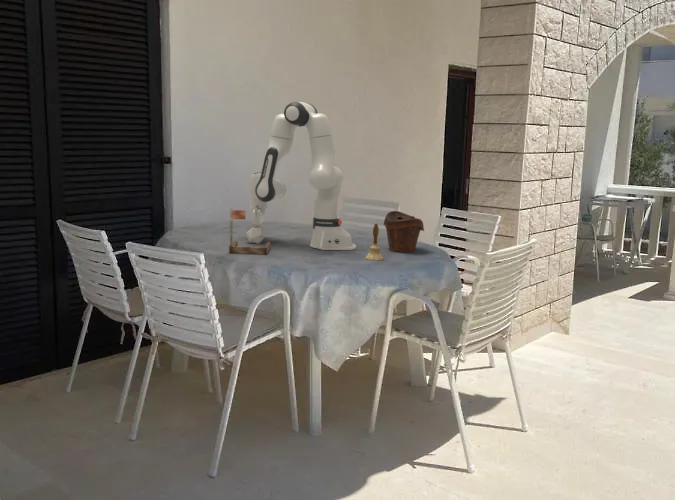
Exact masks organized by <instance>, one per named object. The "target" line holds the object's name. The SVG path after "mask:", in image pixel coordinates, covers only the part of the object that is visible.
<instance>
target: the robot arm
mask: <svg viewBox="0 0 675 500" xmlns="http://www.w3.org/2000/svg"><path fill="white" fill-rule="evenodd" d="M298 127H305V128H306V130H307V132H308V139H309V147H310V152H311V153H310V154H311V166H310V174H309V177H308V178H309V179H308V180H309V183H310V185H311V187H312V188H313V189H316V190H317V194H316V197H315V200H314V207H313V213H314V215H313V219H312V234H311V235H312V236H311V241H310V244H309V246H310V248H314V249H318V250H322V251H353V250H356V249H357V245H356V244H355V243H353V240H352V235H351V233H350V232H348V231H347V230H346V229H345V228H344V227H343V226H341V225H342V224H343V221H342V220H341V219H340V218H338V203H339V202H338V201H339V195H340V191H341V187H342V182H343V181H344V172H343V171H342V170H341V168H339V167H338V166H335V165H334V156H335V146H334V139H333V137H334V136H333V131H332V127H331V123H330V121H329V118H328V116H327V115H326V114H324V113H320V112H318V110H317V108H316V107H315V106H314V105H313V104H312V103H306V102H304V101H293V102H290V103H289V104H287V105H286V106H285V108H284V111H283V113H280V114H277V115H275V117H274V120H273V123H272V127H271V131H270V139H269V143H268V147H267V150H266V152H265V156H264V160H263V164H262V169H261V171H259V172H253V173H252V174H251V175H250V182H249V192H250V195H249V208H250V209H251V211H252V217H251V219H252V222H251V223H252V226H255V227H261V226H262V222H263V221H264V220H265V215H266V209H268V203H269V202H271V201H274V200H277V199H281V198H283V197H284V196H285V194H286V191H287V190H286V187H287V186H286V185H285V183H284V182H283V181H282V180H281V179H276V178H275V174H276V169H277V165H278V164H279V162H280V161H281V160H282V159H283V158H284V157H285V156H287V155H288V154H289V153H290V152H291V149H292V147H293V142H294V136H295V131H296V129H297V128H298ZM261 228H262V227H261Z"/></svg>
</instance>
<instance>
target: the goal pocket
mask: <svg viewBox="0 0 675 500" xmlns="http://www.w3.org/2000/svg"><path fill="white" fill-rule="evenodd" d="M229 210H230V212H229V215H230V217H229V221H230V222H229V224H230V225H229V228H230V230H229V231H230V232H229V235H230V236H229V247H228V248H229V249H228V250H229V251H228V253H229V254H240V255H241V254H242V255H244V254H245V255H265V256H266V255H268V253H269V252H270V249H271V241H266V243H265V245H264V246H241V245H240V246H239V244H238V240H233V220H246V210H244V209H242V210H241V209H239V210H235V209H233V208H230V209H229Z"/></svg>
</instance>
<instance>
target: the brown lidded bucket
mask: <svg viewBox="0 0 675 500" xmlns="http://www.w3.org/2000/svg"><path fill="white" fill-rule="evenodd" d="M383 226H384V227H385V229H386V237H387V243H388V249H389V250H390V251H393V252H397V253H398V252H400V253H412V252H415V251H416V248H417V243H418V240H419V237H420V233H421V231H423V232H425V227H424V222H423V221H422V219H421V218H417V217H415V216H414V215H412V216H411V215H410V214H408V213H407V214H406V213H404V212H402V211H398V210H393V211H390V212H388V213H387V214H386V215H385V218H384V220H383Z"/></svg>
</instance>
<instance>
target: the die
mask: <svg viewBox="0 0 675 500" xmlns="http://www.w3.org/2000/svg"><path fill="white" fill-rule="evenodd" d="M245 234H246V237H247V239H248V241H249V243H250V244H258V245H259V244H260V243H261V242H262V241H263V240H264V239H265V238H266V235H265V232H264V230H263V227H256V226H252V227H251V228H250V229H248V231H247V232H246V233H245Z"/></svg>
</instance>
